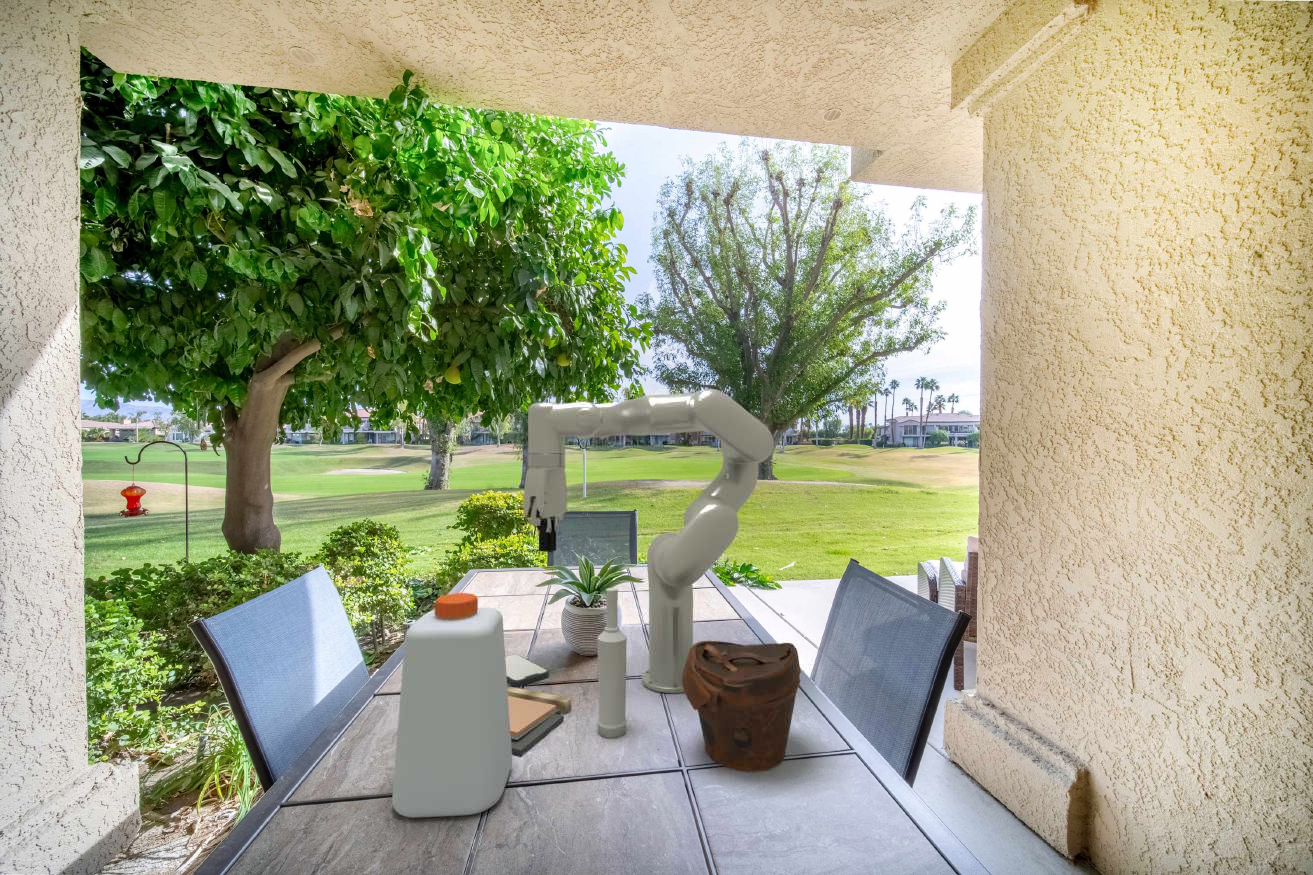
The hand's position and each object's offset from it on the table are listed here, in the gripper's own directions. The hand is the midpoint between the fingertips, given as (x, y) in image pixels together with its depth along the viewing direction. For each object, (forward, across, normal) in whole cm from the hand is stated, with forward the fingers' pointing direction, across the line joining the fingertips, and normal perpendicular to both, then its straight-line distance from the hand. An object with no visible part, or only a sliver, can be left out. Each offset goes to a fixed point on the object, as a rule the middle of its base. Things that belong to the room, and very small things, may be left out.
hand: (547, 550), depth 118 cm
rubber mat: (+29, +16, 0) cm, 33 cm away
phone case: (+30, -6, -13) cm, 33 cm away
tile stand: (+29, +6, +1) cm, 30 cm away
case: (+29, +8, +43) cm, 52 cm away
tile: (+28, +9, +1) cm, 29 cm away
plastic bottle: (+29, +34, +6) cm, 45 cm away
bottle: (+29, +10, +20) cm, 37 cm away
